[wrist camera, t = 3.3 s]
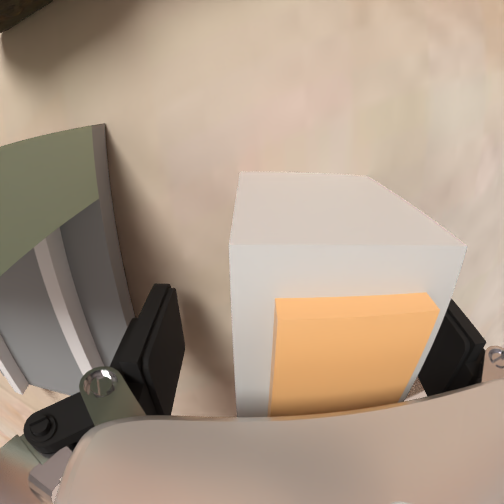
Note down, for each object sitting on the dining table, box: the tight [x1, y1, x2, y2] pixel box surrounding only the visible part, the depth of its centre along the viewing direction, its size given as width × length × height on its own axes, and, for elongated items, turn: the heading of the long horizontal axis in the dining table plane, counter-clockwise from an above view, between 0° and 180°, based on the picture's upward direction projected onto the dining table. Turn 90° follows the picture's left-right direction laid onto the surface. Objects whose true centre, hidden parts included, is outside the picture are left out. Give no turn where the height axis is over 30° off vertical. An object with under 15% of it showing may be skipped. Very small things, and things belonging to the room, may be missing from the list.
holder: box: [229, 171, 467, 417], centre depth 9 cm, size 4×10×7 cm, turn 0°
